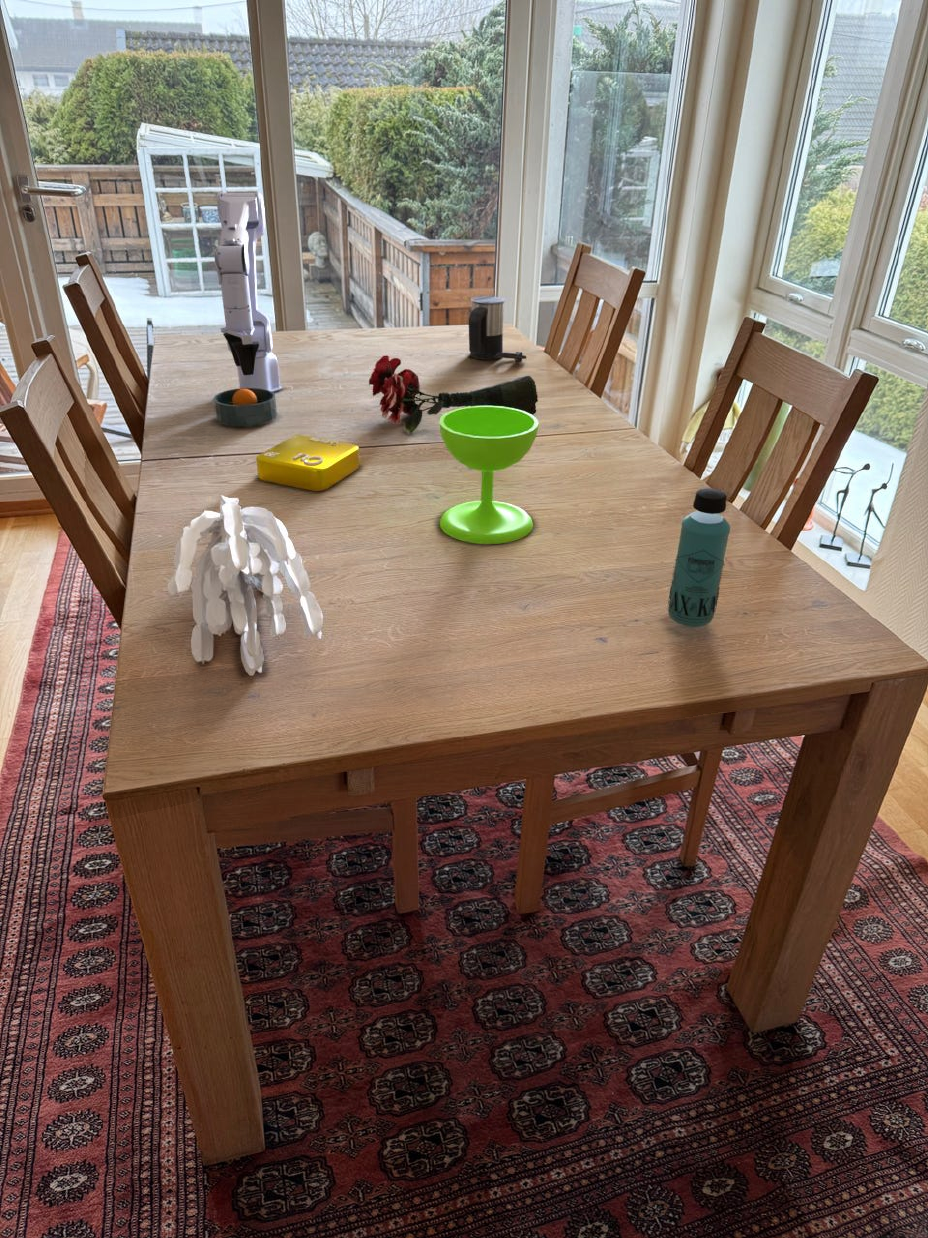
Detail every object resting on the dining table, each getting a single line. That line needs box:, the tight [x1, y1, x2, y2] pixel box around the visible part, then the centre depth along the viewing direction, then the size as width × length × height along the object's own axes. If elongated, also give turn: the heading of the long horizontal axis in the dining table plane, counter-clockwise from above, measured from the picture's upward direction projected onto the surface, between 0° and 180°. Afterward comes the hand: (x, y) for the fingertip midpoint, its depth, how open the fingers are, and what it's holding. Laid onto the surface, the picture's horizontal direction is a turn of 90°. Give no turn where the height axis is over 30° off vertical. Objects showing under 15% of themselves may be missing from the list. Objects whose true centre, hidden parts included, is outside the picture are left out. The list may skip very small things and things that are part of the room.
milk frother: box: [468, 295, 527, 363], centre depth 241 cm, size 14×16×15 cm
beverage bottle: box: [666, 487, 731, 628], centre depth 123 cm, size 6×7×20 cm
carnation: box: [368, 354, 539, 435], centre depth 200 cm, size 16×18×35 cm
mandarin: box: [232, 388, 257, 406], centre depth 201 cm, size 5×5×6 cm
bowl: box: [212, 387, 278, 428], centre depth 200 cm, size 13×13×5 cm
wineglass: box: [438, 406, 540, 545], centre depth 151 cm, size 16×16×18 cm
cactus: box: [166, 494, 324, 677], centre depth 125 cm, size 17×18×35 cm
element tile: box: [255, 434, 360, 492], centre depth 173 cm, size 15×15×5 cm
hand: (244, 369), depth 201 cm, fingers open, 7 cm apart
